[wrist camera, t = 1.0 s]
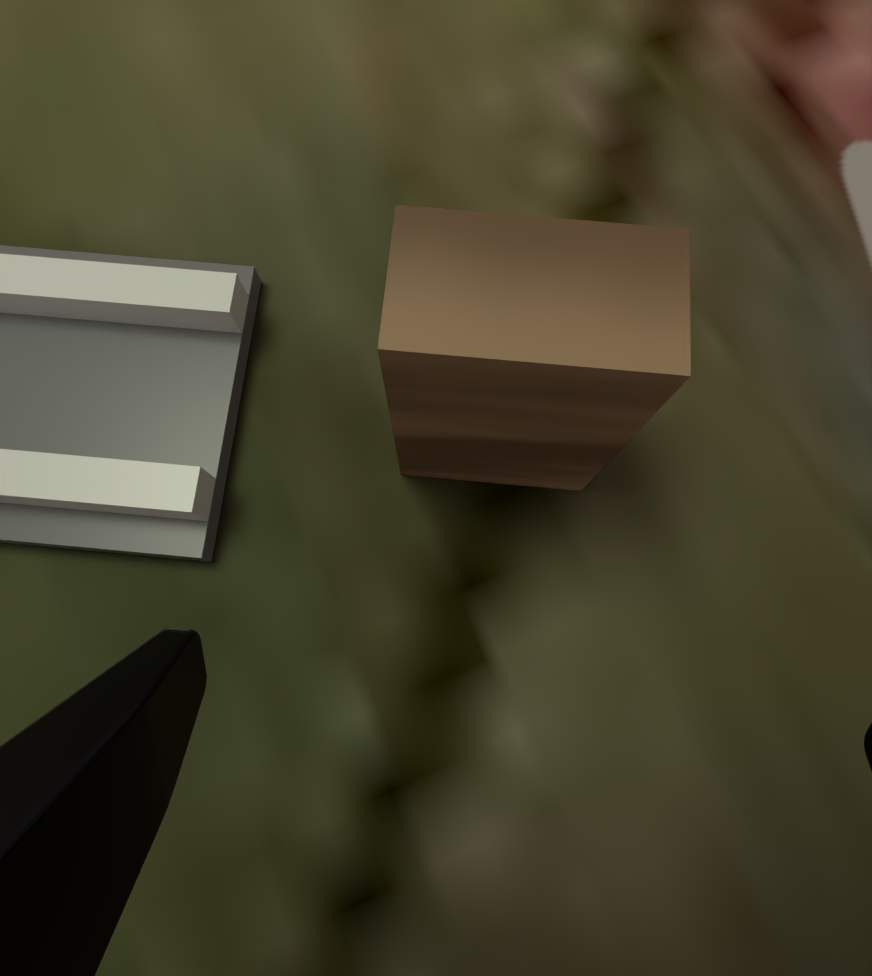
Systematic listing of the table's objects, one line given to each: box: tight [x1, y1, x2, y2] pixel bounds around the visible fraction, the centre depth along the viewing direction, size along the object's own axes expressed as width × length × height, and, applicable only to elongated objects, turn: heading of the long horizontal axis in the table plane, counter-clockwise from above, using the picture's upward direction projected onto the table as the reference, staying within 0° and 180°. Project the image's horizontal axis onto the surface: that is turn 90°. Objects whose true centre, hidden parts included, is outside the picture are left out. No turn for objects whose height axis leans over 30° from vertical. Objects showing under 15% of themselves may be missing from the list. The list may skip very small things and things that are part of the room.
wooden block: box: [378, 205, 691, 491], centre depth 18 cm, size 4×6×10 cm, turn 85°
